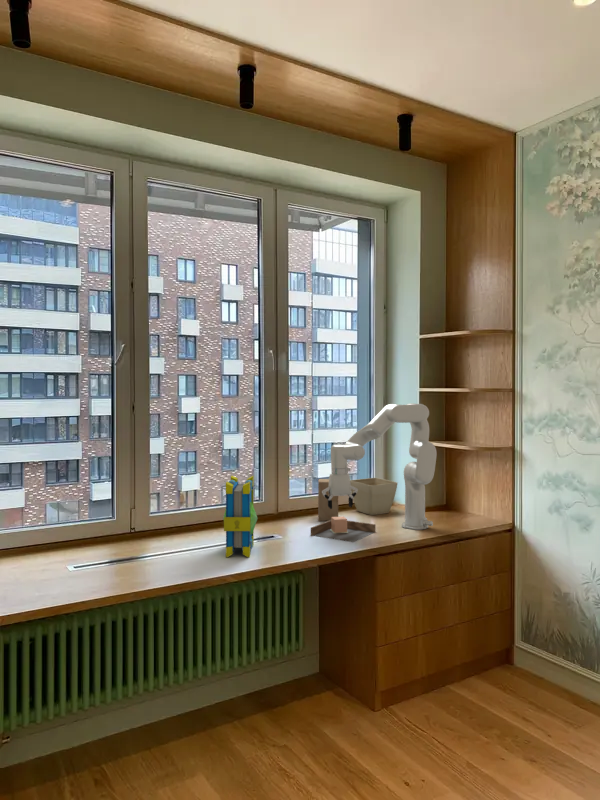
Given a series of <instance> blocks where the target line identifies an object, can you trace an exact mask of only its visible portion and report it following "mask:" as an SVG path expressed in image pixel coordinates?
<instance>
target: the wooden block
mask: <svg viewBox="0 0 600 800" xmlns="http://www.w3.org/2000/svg"><path fill="white" fill-rule="evenodd" d="M328 487H329V478H319V479H318V487H317V488H318V490H317V492H318V494H317V496H318V497H317V498H318V502H317V503H318V504H317V505H318V509H317V512H318V514H317V515H318V517H317V518H318V519H317V520H318V521H319V522H327V521H329V520H331V517H339V496H333V497H332V499H331V500H332V509H330V508H329V507H328V499H327V498H325V497H324V495H323V493H322V491H323V490H324V489H326V488H328ZM326 494H327V496H329V491H327V492H326Z"/></svg>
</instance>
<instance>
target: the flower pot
mask: <svg viewBox="0 0 600 800" xmlns="http://www.w3.org/2000/svg"><path fill="white" fill-rule="evenodd" d="M350 482H351V486H353V487H355V488H357V489H358V491H357V493H356V495H355V496H354V498H353V504H354V506H355V508H356V511H357V512H360V513H363V514H366V515H369V516H374V515H383V514H388V513H390V510H391V509H392V506H393V503H394V499H395V496H396V494H397V493H396V492H397V489H398V482H396V481H393V480H388V479H385V478H379V477H368V478H359V479H350ZM353 492H354V490H353V489H351V494H352V493H353Z"/></svg>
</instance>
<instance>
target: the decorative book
mask: <svg viewBox="0 0 600 800" xmlns="http://www.w3.org/2000/svg"><path fill="white" fill-rule="evenodd" d="M254 476H255V475H251V476H250V477H248V478H247V479H246V481H245V482H244V483H239V478H238V477H236V476H234V475H231V476H230V480H229V481H226V482H225V509H224V510H225V511H224V514H223V517H222V520H223V532H225V558H228V557H230V556H232V555H233V554H234V551H235V549H236V548H241V550H242V555H243V556H245V557H247V558H250V557H251V551H252V549H253V548H254V539H255V538H254V537H255V535H254V534H255V533H254V530H255V527H256V523H257V521H258V519H259V518H258V516H257V512H256V509H255V507H254V502H255V501H254V498H255V497H254V495H255V494H254Z"/></svg>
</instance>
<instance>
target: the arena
mask: <svg viewBox="0 0 600 800" xmlns="http://www.w3.org/2000/svg"><path fill="white" fill-rule="evenodd" d="M376 531H377V530H376V523H375V524H374V523H368V522H361V521H354V520H349V519H347V532H339V533H335V532H333V531H332V530H331V520H329V521H323V522H322V523H319V524H316V525H314V526H311V527H310V536H312V537H318V538H324V539H329V540H334V541H336V540H337V541H342V542H349V543H356V542H358V541H359V540H362V539H364V538H366V537H368V536H371V535H372V534H375V533H376Z"/></svg>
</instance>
